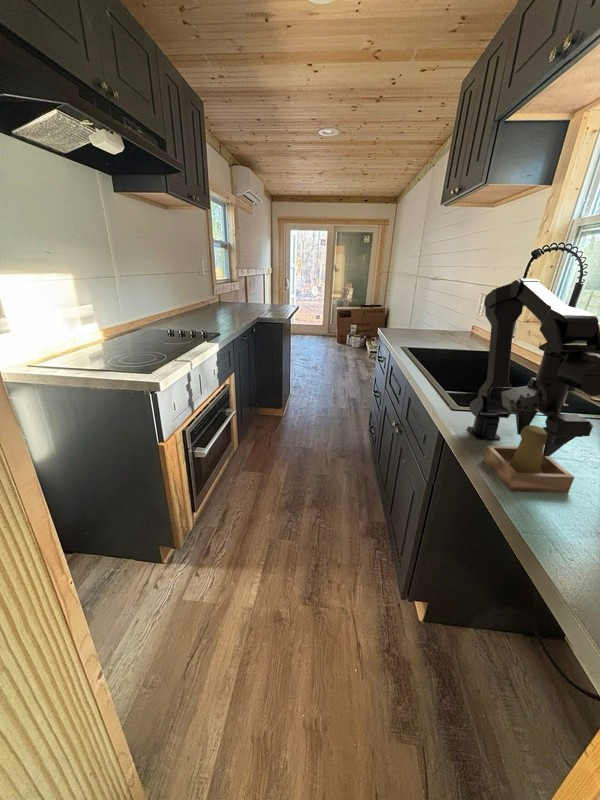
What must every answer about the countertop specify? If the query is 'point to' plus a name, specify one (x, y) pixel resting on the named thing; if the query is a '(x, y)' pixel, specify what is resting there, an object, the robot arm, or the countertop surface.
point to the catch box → (545, 481)
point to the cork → (529, 450)
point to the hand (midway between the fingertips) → (532, 444)
